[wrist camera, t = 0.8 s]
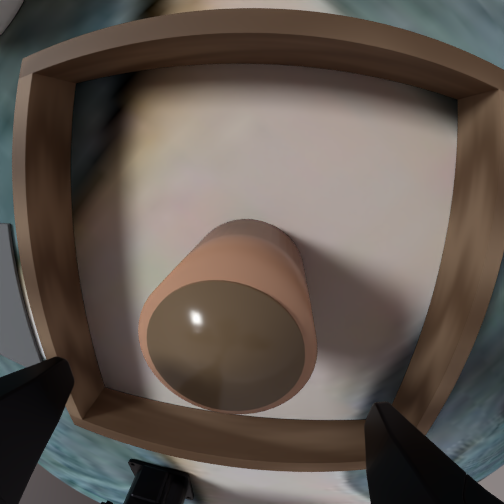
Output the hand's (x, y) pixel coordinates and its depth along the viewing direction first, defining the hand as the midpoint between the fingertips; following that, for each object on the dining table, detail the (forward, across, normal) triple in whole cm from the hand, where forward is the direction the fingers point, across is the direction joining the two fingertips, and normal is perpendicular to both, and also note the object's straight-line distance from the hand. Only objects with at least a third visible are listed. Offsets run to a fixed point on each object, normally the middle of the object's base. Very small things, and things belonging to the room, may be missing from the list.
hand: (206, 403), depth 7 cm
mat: (+9, +25, +5) cm, 27 cm away
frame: (+9, 0, 0) cm, 9 cm away
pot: (+9, 0, 0) cm, 9 cm away
